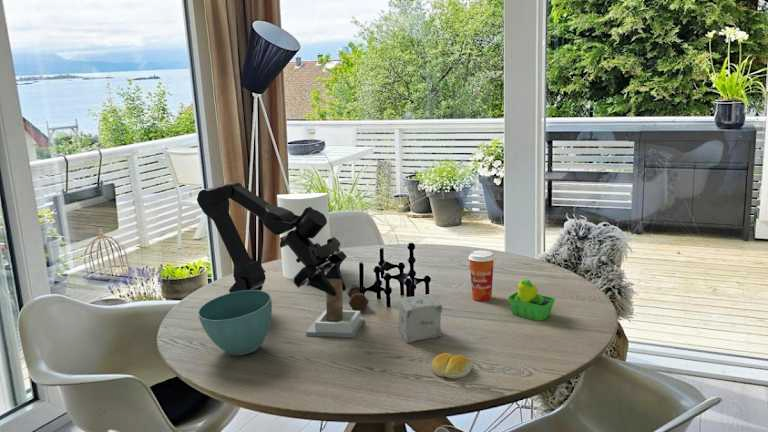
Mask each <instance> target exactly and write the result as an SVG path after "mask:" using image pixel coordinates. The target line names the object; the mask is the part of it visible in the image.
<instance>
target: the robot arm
mask: <svg viewBox="0 0 768 432" xmlns="http://www.w3.org/2000/svg"><path fill="white" fill-rule="evenodd" d="M230 200H232V201H234V203H237V204H238V205H239V206H241V207H242V208H244V209H246V210H247V211H248V212H250V213H252V214H253V215H255V216H256V217H257V218H259V219H260V220H261V222H262V223H263V226H264V227H265V228H266V229H267V230H268V231H269V232H270V233H272V234H273V235H276V236H278V235H279V236H280V234H282V233H285V232H287V231H290V230H292V229H294V228H295V227H296V229H295V230H292V231H290V232H289V233H288V234H287V235H286V236H283V237H281V238H280V237H279V238H280V239H281V242H279V247H280V249H281V248H282V247H284V246H287V245H288V246H289V248H290V249H291V250H292V251H293V252H294V254H295V255H296V256H297V257H298V258H297V259H296V261H297V262H298V263H299V262H302V263H303V265H304V266H305V267H304V268H302V269H301V270H300V271H299V273H298V274H297V275H296V276H295V277H294V280H293V283H294V285H295V287H297V289H299V288H302V287H304V286H305V284H306V281H308V282H307V284H306V286H307V287H312V288H315V289H317V290H320V291H322V292H324V293H325V294H326V293H328V294H330V295H332V296H336V295H337V293H336V291H335V289H334V288H333V287H332V285H331V284H330V282H329V281H328V280H327V279H331V278H338V279H341V280H342V292H343V291H346V290H347V286H346V284H345V281H344V278H343V276H342V273H341V270H340V268H341V265H342V263H343V262H344V261H345V260H346V258H348V257H347V255H346V254H345V253H344V251H341V249H340V247H341V242H340V241H339V239H337V238H336V237H335V236H333V237H330V239H328V240H327V244H325V245H323V246H320V244H318V243H316V244H313V242H312V241H311V240H310V239H309V238H314V237H315V236H316V235H317V234H318V233H319V232H320V231H321V229H322V228H323V227H324V226H325V225H326V224H327V219H326V217H325V216H324V215H323V214H322V213H320V212H319V211H317V210H313V209H312V208H311V207H308V208H306V209H305V210H304V212H303V213H302V215H301V216H298V215H294V213H293V212H291V211H289V210H287V209H285V208H282V207H278V205H273V204H271V203H269V202H267V201H266V200H264V199H263V198H262V197H260V196H258V195H257V194H255V193H253V192H252V191H251V190H249V189H248V188H246V187H245V186H243V184H241V183H240V182H238V181H234V182H230V183H226V184H224V185H223V186H214V187H213V186H211V187H210V188H209V187H208V188H205V189H201V190H200V191H198V194H197V198H196V201H197V205H198V206H199V208H200V209H201V211H202V212H203V214H205V215H206V217H208V218H210V219H211V220H212V221H213V222H214V224H215V227H216V229H217V231H218V233H219V236H220V238H221V240H222V243H223V244H224V246H225V248H226V251H227V252H228V255H229V257H230V260H231V261H232V263H233V274H232V275H233V278H234V281H235V282H234V283H233V285H231V287H230V288H229V289H228V292H229V293H233V292H237V291H244V290H260V291H263V287H264V286H263V285H264V284H265V281H266V270H265V269H264V267H263V265H262V262H261V261H260V259H258V260H254V259H253V258H251V257H250V255H249V252H248V251H247V248H246V247H245V243H244V242H243V240H242V238H241V235H240V233H239V232H238V229H237V228H236V225H235V223H234V221H233V219H232V216H231V215H230V205H231V204H230ZM330 255H331V256H330ZM325 272H326V275H325ZM307 278H308V280H306V279H307Z"/></svg>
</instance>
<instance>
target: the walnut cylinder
mask: <svg viewBox="0 0 768 432" xmlns="http://www.w3.org/2000/svg"><path fill="white" fill-rule="evenodd" d="M327 280H328V281H329V282H330V284H331V285H332V287H333V288H334V289H335V291H336V293H337V295H336V296H332V295H330V294H328V293H326V292H325V301H326V302H325V304H326V305H325V306H326V307H325V308H326V309H325V310H327V321H329V322H340V321H342V320H343V310H344V309H343V308H344V307H343V304H344V303H343V302H344V301H343V290H342V280H341V279H338V278H331V279H327Z"/></svg>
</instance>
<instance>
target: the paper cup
mask: <svg viewBox="0 0 768 432" xmlns="http://www.w3.org/2000/svg"><path fill="white" fill-rule="evenodd" d="M494 255H495V254H494V253H493V252H492V251H488V250H475V251H471V253H469V256H468V260H469V270H470V281H471V293H472V294H471V295H472V300H473V301H476V302H483V303H484V302H488V301H491V300H492V296H493V295H492V293H493V281H494V279H493V276H494V261H495V259H496V257H495V256H494Z"/></svg>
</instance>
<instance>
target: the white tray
mask: <svg viewBox="0 0 768 432" xmlns="http://www.w3.org/2000/svg"><path fill="white" fill-rule="evenodd" d="M364 321H365V318H364V316H363V317H361V311H353V310H347V309H346V310H344V309H343V320H342V321H340V322H329V321H327V310H326V309H324V311H323V312H322V313H321V314H320V315H319V316H318V317H317V318H316V319H315V320H314V321H313V323H312V324H311V325H310V326H309V327H308V329H307V330H306V332H305V336H309V337H311V336H312V337H334V338H335V337H337V338H354V337H355V336H356V334H357V332H358V331H359V329H360V327H361V326H362V324H363V323H364Z"/></svg>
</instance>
